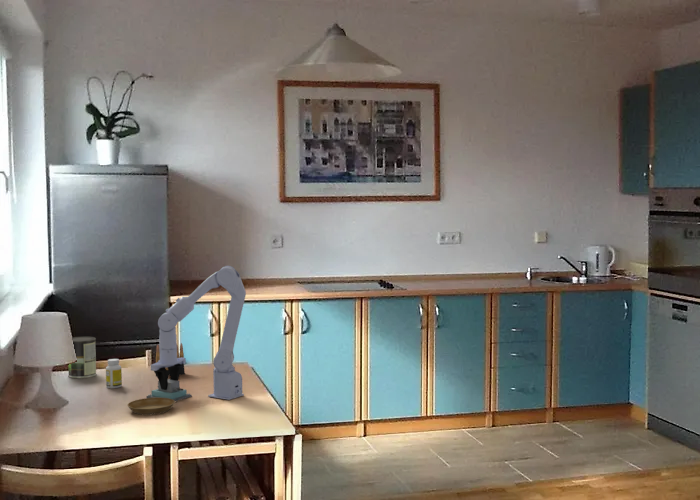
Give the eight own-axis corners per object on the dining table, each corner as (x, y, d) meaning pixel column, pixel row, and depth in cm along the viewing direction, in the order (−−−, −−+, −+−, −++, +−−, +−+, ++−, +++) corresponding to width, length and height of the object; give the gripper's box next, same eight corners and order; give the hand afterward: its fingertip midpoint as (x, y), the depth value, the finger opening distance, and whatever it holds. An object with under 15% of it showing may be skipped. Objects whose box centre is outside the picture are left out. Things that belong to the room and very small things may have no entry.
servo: (187, 395, 288) (186, 380, 288) (178, 397, 285) (178, 382, 284) (164, 391, 294) (163, 376, 293) (155, 393, 290) (155, 378, 290)
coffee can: (70, 379, 318) (69, 342, 317) (66, 374, 327) (65, 337, 326) (98, 376, 322) (97, 339, 321) (94, 371, 332) (93, 335, 331)
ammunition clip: (156, 376, 323) (155, 345, 322) (155, 375, 324) (155, 344, 324) (184, 374, 326) (184, 343, 325) (184, 373, 327) (183, 342, 327)
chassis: (191, 396, 290) (191, 389, 290) (172, 402, 283) (172, 395, 282) (166, 392, 297) (165, 385, 297) (146, 397, 289) (146, 390, 289)
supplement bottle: (124, 385, 308) (123, 358, 307) (118, 388, 303) (117, 361, 302) (109, 385, 309) (108, 358, 308) (103, 388, 303) (103, 361, 302)
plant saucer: (127, 418, 264) (127, 410, 263) (127, 407, 278) (127, 399, 278) (176, 414, 268) (176, 406, 267) (173, 403, 282) (173, 396, 282)
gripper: (174, 343, 297) (175, 382, 298) (143, 350, 285) (144, 390, 286) (189, 345, 293) (190, 384, 294) (159, 352, 281) (159, 393, 282)
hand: (169, 388), depth 289 cm, fingers closed on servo, 4 cm apart
